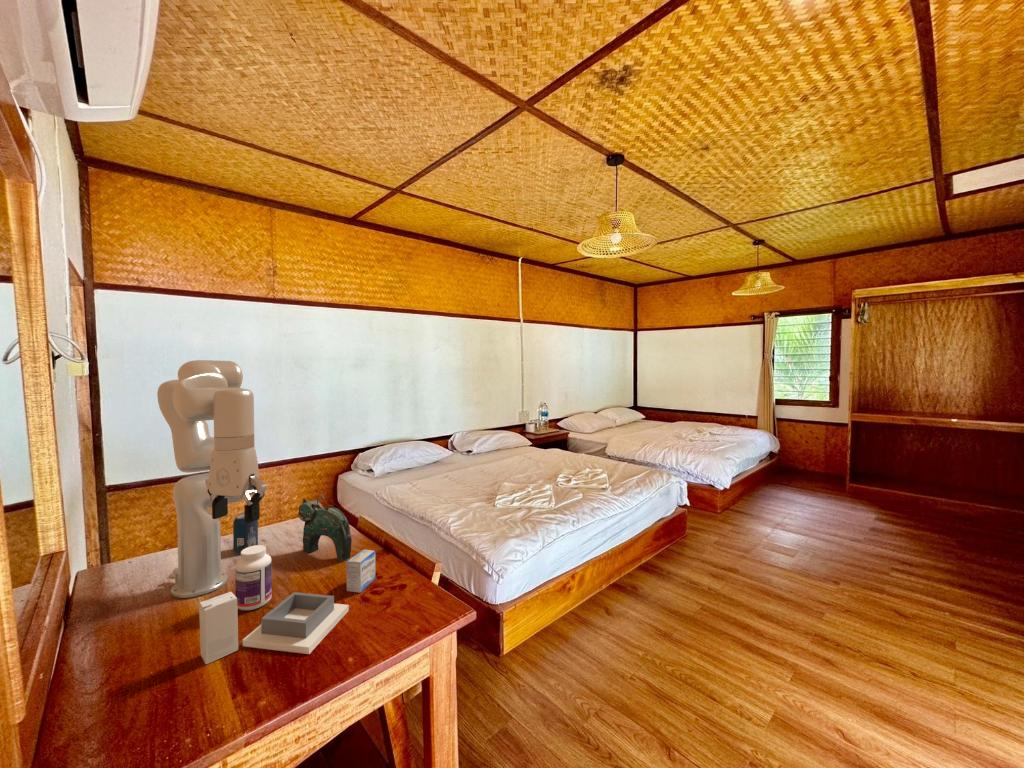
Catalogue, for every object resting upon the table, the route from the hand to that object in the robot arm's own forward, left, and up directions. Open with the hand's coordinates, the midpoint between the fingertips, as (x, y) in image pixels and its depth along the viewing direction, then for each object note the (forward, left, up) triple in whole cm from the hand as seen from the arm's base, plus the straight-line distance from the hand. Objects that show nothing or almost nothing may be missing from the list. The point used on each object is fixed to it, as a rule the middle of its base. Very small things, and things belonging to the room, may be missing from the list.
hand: (236, 519), depth 91 cm
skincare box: (0, -5, -28) cm, 28 cm away
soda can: (-33, +40, -28) cm, 59 cm away
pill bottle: (-7, +13, -28) cm, 32 cm away
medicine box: (+16, +26, -28) cm, 42 cm away
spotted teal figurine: (-5, +42, -28) cm, 51 cm away
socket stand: (+11, +6, -28) cm, 30 cm away
